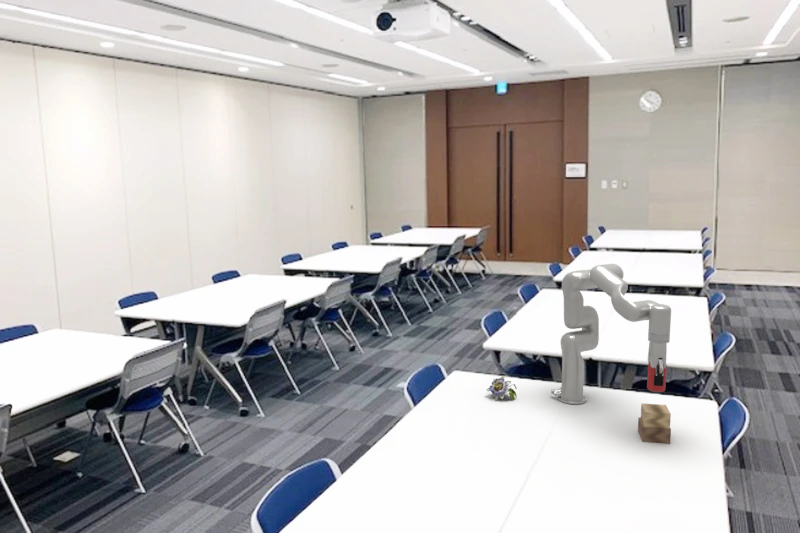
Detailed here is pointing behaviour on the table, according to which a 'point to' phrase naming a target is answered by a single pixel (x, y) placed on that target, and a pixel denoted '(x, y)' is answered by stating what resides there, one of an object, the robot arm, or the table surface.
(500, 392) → the passion flower
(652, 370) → the beer can
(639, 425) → the walnut block
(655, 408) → the oak block
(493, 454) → the table surface
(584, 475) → the table surface
